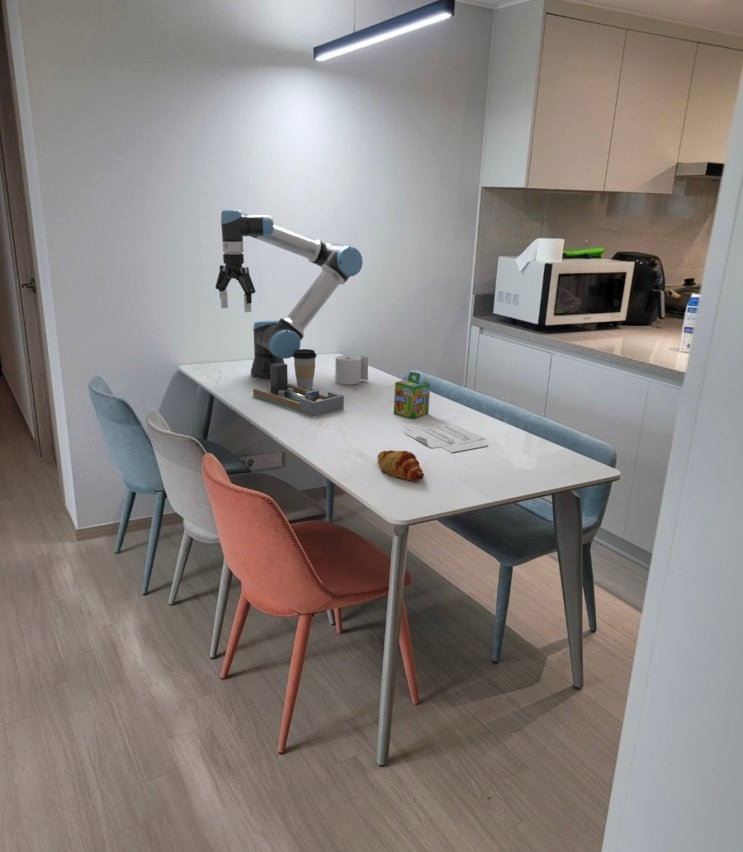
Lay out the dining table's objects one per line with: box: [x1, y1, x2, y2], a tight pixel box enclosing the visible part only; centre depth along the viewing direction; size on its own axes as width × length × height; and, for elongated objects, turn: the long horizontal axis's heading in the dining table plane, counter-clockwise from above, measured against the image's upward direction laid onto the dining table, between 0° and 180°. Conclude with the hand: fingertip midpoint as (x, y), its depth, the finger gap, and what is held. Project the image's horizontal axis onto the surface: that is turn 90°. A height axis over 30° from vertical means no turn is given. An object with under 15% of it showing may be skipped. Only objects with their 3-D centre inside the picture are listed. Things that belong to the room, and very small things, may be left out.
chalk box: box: [393, 371, 431, 420], centre depth 248 cm, size 9×9×15 cm
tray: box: [403, 420, 489, 454], centre depth 228 cm, size 20×28×4 cm
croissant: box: [377, 449, 425, 482], centre depth 197 cm, size 21×10×8 cm, turn 33°
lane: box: [252, 384, 328, 413], centre depth 263 cm, size 14×28×4 cm, turn 45°
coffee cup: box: [291, 348, 317, 391], centre depth 278 cm, size 9×9×15 cm
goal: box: [299, 391, 345, 417], centre depth 251 cm, size 14×8×5 cm, turn 135°
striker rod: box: [269, 362, 320, 402], centre depth 260 cm, size 5×22×11 cm, turn 45°
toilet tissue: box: [334, 354, 369, 386], centre depth 291 cm, size 11×12×10 cm
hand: (236, 310), depth 272 cm, fingers open, 13 cm apart
